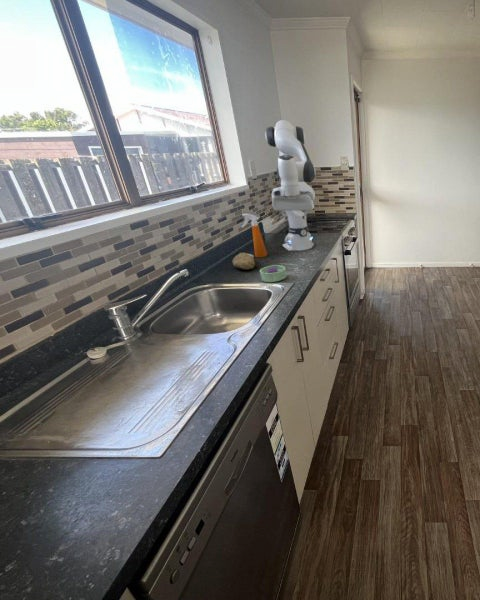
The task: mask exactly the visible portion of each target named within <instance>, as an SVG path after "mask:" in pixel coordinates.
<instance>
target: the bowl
mask: <svg viewBox="0 0 480 600" xmlns="http://www.w3.org/2000/svg"><path fill="white" fill-rule="evenodd" d="M271 268H275V269H276V270H277V271H278V272H275V273H268V270H269V269H271ZM259 275H260V279H261V281H262V282H265V283H276V282H280V281H282V280H285V279H286V278H287V269H286V267H285V266H284V265H279V264H278V265H277V264H275V265H268V266H264V267H262V268H260V270H259Z"/></svg>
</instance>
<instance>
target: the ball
mask: <svg viewBox="0 0 480 600" xmlns="http://www.w3.org/2000/svg"><path fill="white" fill-rule="evenodd" d="M275 272H278V271H277V270H276V269H275V268H271V269H269V270H268V273H275Z"/></svg>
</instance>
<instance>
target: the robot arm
mask: <svg viewBox="0 0 480 600" xmlns="http://www.w3.org/2000/svg"><path fill="white" fill-rule="evenodd" d="M264 138H265V141H266V142H267V145H269V146H270V147H273V148H276V149H278V152H279V153H278V157H277V165H276V167H275V169H276V175H277V179H279V181H280V186H279V187H274V188H273V189H272V191H271V204H272V209H273V210H274V211H275V212H278V211H280V214H281V215H282V216H283V219H284V220H287V222H288V227H287V228H288V233H287V235H285V237H284V240H283V241H284V243H283V244H282V247H283V248H284V249H285V250H287V251H288V252H292V251H293V252H294V251H295V252H296V251H298V252H300V251H307V250H310V249H312V248H313V247H314V246H315V243H314V242H313V240H312V239H313V236H312V234H311V233H310V232H309V225H308V222H307V214H308V213H309V212H308V211H314V209H315V203H314V202H315V199H316V192H315V190H314V189H313V187H312V186H310V185H309V184H308V183H311V182H313V181H314V180H315V178H316V168H315V166H314V164H313V162H312V161H311V159H310V156H309V154H308V151H307V149H306V146H305V142H306V134H305V131H304V129H303V128H302V127H301V126H297V125H296V126H293V125H292V123H290V121H288V120H286V119H281V120H278V121H277V122H276V124H275V126H267V127H266V129H265V133H264ZM299 159H300V160H301V161H299Z"/></svg>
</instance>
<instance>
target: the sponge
mask: <svg viewBox="0 0 480 600" xmlns="http://www.w3.org/2000/svg"><path fill="white" fill-rule="evenodd" d="M231 263H232V266H233V267H235V268H237V269H240V270H246V271H247V270H248V271H249V270H251V269H254V268H255V266H256V262H255V255H253V254H251V253H247V252H239V253H238V254H236V255H235V256H234V257H233V258H232V261H231Z"/></svg>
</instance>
